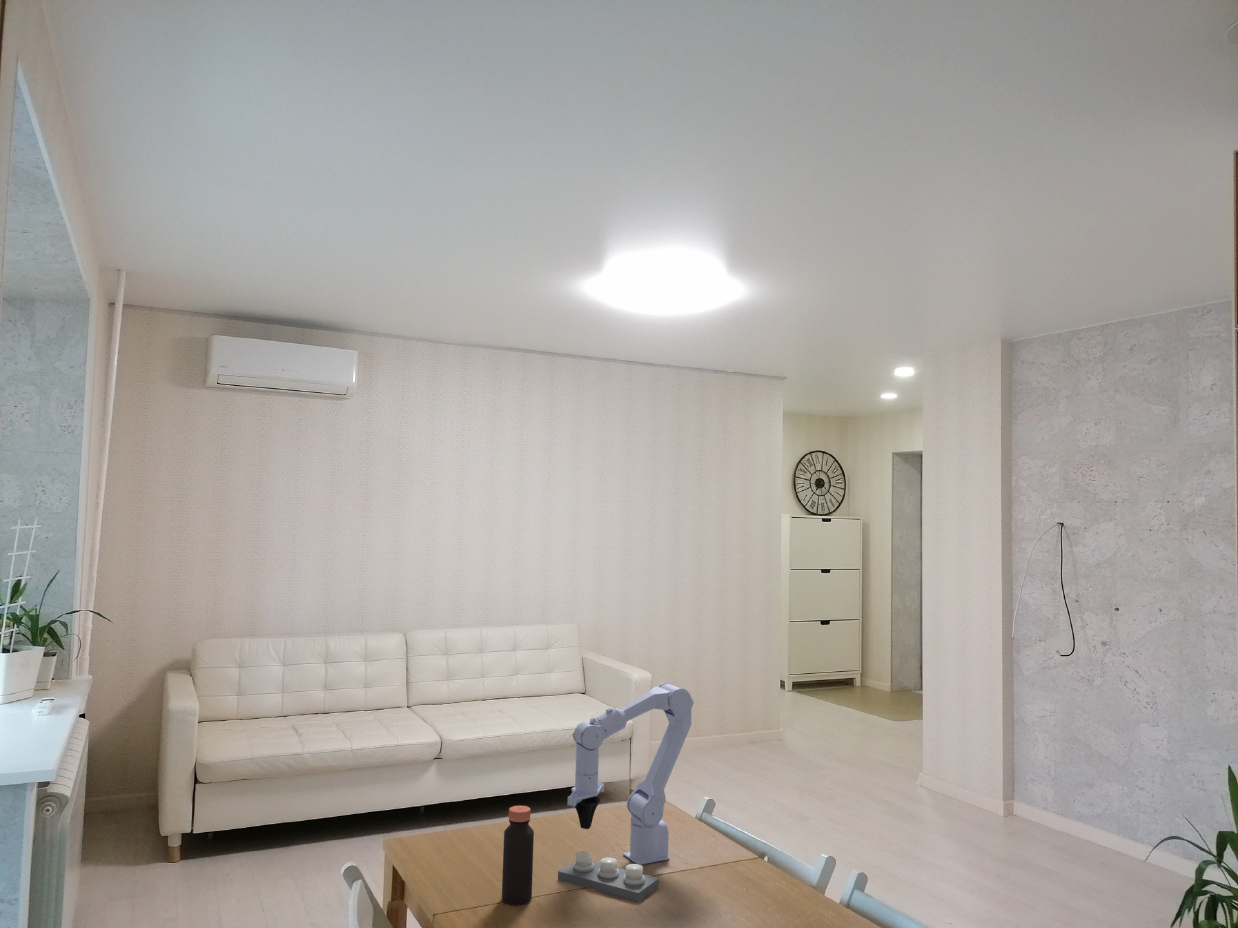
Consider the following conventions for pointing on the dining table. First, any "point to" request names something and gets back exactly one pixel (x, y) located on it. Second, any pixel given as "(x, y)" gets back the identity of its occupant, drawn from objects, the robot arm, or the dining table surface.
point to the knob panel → (609, 881)
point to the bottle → (518, 857)
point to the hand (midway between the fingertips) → (585, 827)
